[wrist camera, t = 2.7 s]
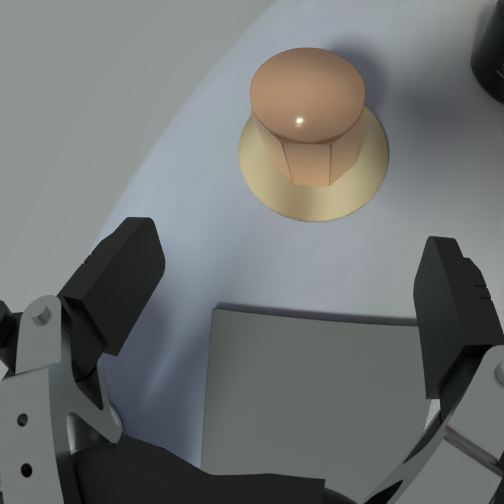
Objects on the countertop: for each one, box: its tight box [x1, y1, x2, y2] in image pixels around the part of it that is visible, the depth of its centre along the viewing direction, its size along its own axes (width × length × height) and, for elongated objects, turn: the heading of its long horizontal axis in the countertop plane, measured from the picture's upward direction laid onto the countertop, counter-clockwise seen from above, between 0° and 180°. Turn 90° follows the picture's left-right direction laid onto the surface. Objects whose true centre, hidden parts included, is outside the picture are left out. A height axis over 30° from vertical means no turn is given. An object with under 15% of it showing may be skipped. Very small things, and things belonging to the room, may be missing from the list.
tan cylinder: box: [250, 48, 365, 187], centre depth 18 cm, size 6×6×7 cm
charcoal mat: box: [201, 308, 431, 504], centre depth 19 cm, size 16×16×1 cm
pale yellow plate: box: [238, 105, 388, 222], centre depth 21 cm, size 11×11×2 cm
